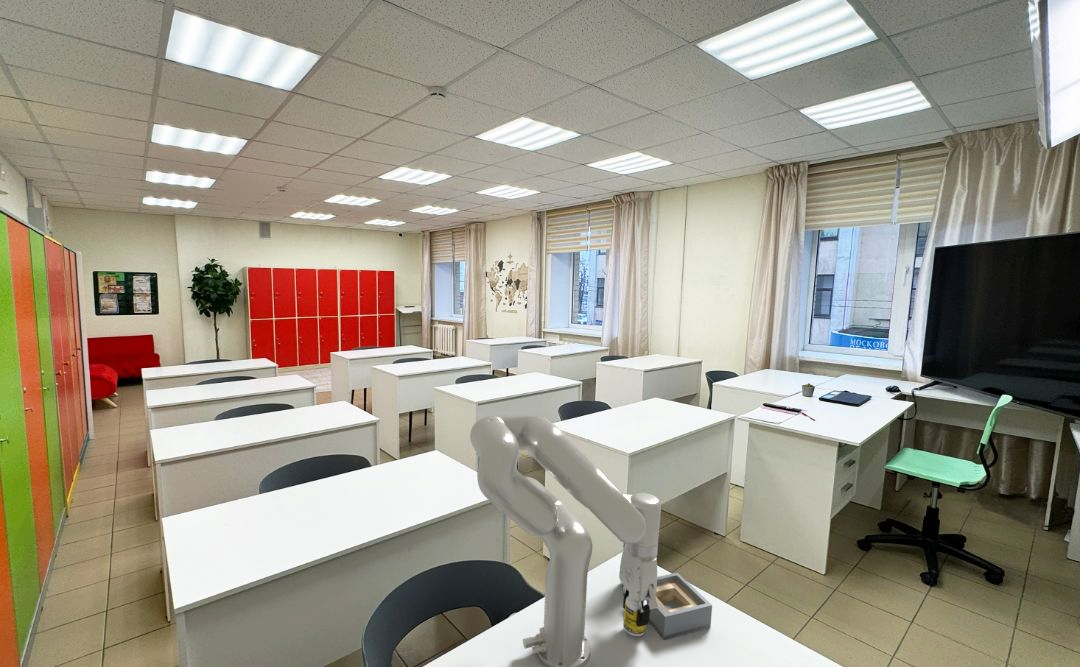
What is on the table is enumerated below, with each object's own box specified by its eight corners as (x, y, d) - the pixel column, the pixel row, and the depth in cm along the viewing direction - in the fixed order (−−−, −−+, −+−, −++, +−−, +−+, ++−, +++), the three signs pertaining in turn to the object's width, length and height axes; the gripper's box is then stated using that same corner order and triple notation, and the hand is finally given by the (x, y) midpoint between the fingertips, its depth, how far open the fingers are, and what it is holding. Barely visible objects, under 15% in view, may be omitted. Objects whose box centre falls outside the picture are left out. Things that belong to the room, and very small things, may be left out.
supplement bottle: (620, 631, 112) (623, 593, 112) (626, 618, 117) (629, 581, 116) (642, 640, 110) (645, 601, 109) (647, 626, 115) (651, 589, 114)
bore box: (663, 640, 111) (665, 616, 111) (632, 602, 124) (634, 581, 124) (710, 627, 116) (712, 605, 116) (676, 592, 129) (677, 572, 129)
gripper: (610, 530, 119) (605, 596, 120) (648, 568, 103) (641, 644, 104) (635, 526, 121) (630, 592, 123) (676, 563, 105) (669, 638, 107)
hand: (635, 615), depth 113 cm, fingers closed on supplement bottle, 5 cm apart
